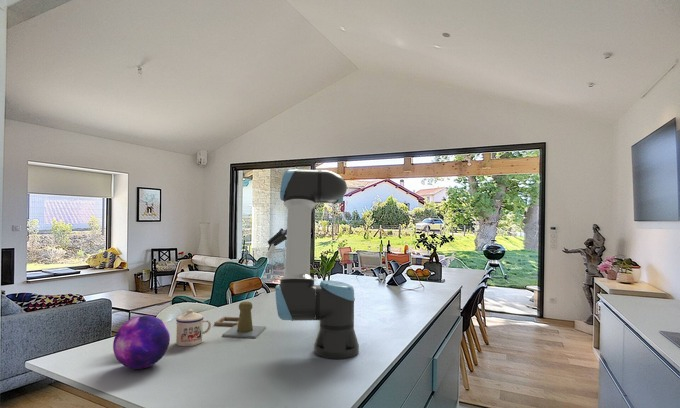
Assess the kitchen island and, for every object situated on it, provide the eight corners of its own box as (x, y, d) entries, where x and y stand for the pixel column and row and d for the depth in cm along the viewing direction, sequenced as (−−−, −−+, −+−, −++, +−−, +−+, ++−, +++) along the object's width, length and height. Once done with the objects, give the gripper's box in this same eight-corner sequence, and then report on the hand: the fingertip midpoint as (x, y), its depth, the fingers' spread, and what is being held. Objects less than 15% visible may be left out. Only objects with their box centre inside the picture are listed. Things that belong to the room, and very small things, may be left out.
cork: (246, 327, 154) (247, 299, 154) (256, 330, 150) (256, 301, 150) (233, 330, 149) (234, 302, 150) (243, 333, 145) (244, 304, 146)
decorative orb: (106, 366, 114) (108, 315, 114) (158, 354, 124) (160, 308, 125) (120, 382, 103) (122, 326, 104) (176, 367, 114) (178, 316, 114)
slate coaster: (255, 338, 142) (255, 336, 142) (222, 336, 144) (222, 334, 144) (266, 328, 155) (266, 326, 155) (235, 326, 157) (235, 324, 157)
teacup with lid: (178, 348, 130) (179, 314, 130) (172, 341, 137) (173, 308, 138) (214, 342, 137) (215, 309, 137) (206, 336, 144) (207, 304, 145)
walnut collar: (236, 326, 157) (236, 323, 157) (214, 325, 158) (214, 322, 158) (244, 320, 167) (244, 317, 167) (223, 319, 168) (223, 316, 168)
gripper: (324, 229, 180) (309, 264, 165) (277, 228, 189) (260, 261, 174) (319, 217, 175) (304, 253, 160) (272, 217, 184) (254, 250, 169)
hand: (281, 257), depth 167 cm, fingers open, 13 cm apart
